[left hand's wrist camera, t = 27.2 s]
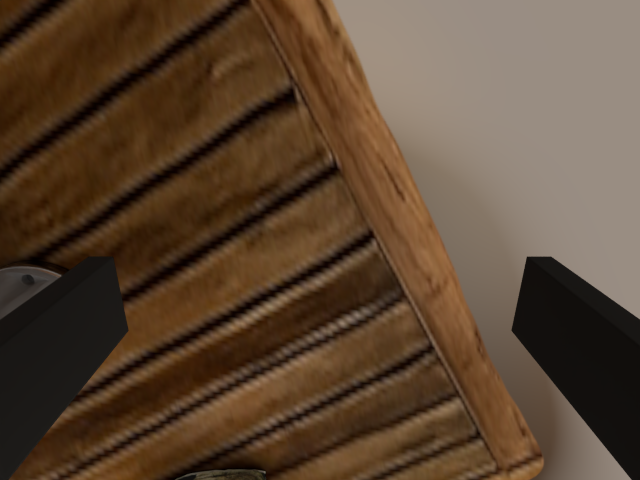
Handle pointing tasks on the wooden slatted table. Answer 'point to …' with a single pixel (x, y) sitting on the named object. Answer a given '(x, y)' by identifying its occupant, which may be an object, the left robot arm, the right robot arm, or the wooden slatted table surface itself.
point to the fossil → (226, 475)
